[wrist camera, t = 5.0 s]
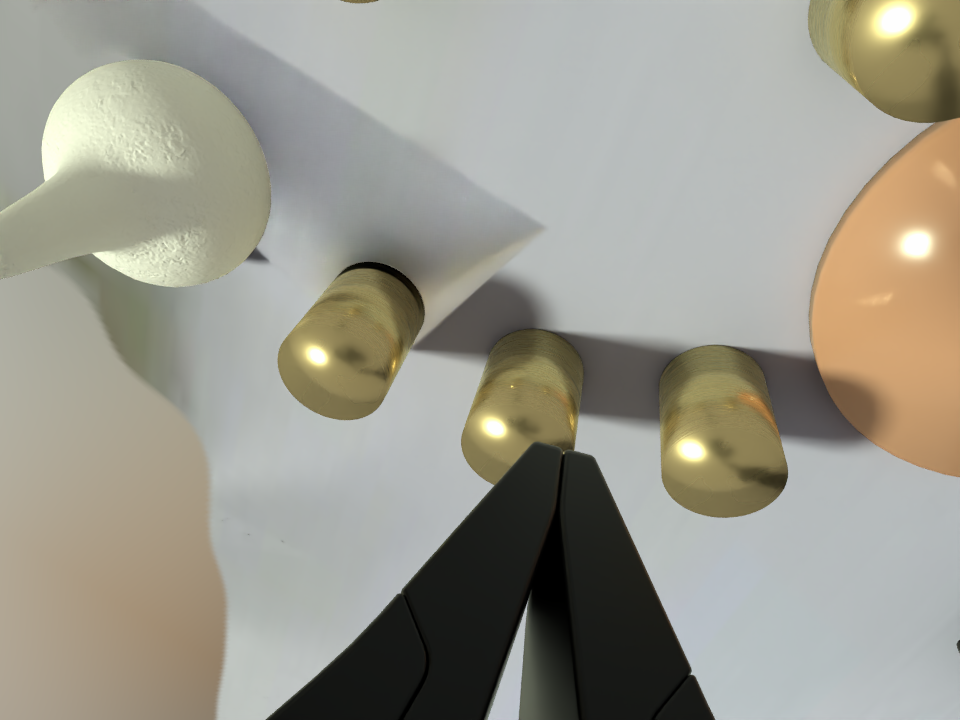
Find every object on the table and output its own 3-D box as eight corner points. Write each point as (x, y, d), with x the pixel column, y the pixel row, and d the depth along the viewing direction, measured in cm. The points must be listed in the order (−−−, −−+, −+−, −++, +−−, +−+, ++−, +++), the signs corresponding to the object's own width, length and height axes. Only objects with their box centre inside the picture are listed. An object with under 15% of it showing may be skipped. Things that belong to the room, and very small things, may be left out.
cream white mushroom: (298, 268, 22) (154, 419, 16) (124, 242, 23) (-81, 375, 16) (276, 62, 19) (78, 146, 12) (72, 40, 19) (-217, 107, 13)
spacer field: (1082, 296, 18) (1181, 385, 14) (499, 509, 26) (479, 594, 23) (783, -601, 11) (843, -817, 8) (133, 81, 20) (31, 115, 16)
